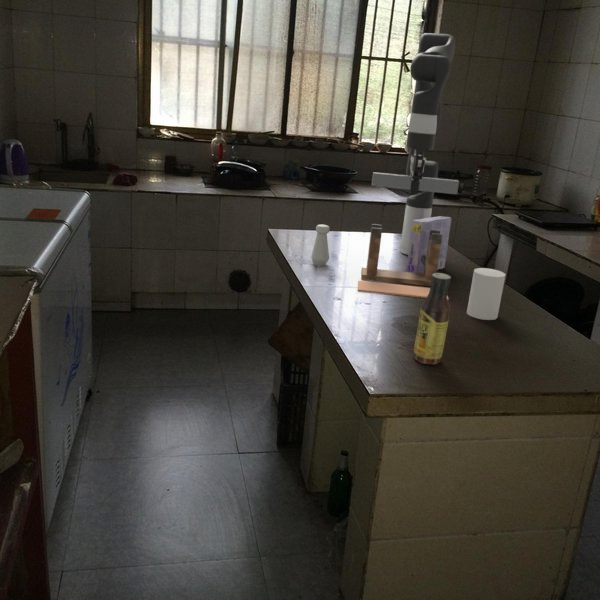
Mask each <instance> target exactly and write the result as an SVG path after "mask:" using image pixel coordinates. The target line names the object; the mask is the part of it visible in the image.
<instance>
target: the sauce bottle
mask: <svg viewBox="0 0 600 600" xmlns="http://www.w3.org/2000/svg"><path fill="white" fill-rule="evenodd" d="M451 280H452V277H451V275H449V274H446V273H443V272H437V273H434V274H432V277H431V286H429V288H430V291H429V294H428V296H427V298H425V299H424V301H423V304H422V305H421V307H420V311H419V312H420V313H419V317H418V322H417V323H418V324H417V330H416V337H415V340H414V341H415V343H414V346H413V352H414V353H413V358H414V360H416V361H417V362H419V363H420V364H422V365H423V364H424V365H430V366H431V365H432V366H433V365H438V364H439V363H440V362H441V358H442V356H443V352H444V347H445V343H446V336H447V331H448V325H449V320H450V319H449V318H450V317H449V316H450V312H451V305H450V302H449V300H447V296H448V294H449V293H448V292H449V286H450V284H451V282H452V281H451Z"/></svg>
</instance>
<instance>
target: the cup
mask: <svg viewBox="0 0 600 600" xmlns="http://www.w3.org/2000/svg"><path fill="white" fill-rule="evenodd" d="M471 279H472V281H471V285H470V292H469V297H468V303H467V308H466V309H467V310H466V314H467V315H468V316H469V317H472V318H475V319H478V320H483V321H486V320H487V321H492V320H493V321H495V320H496V319H498V315H499V311H500V305H501V300H502V295H503V291H504V284H505V280H506V273H504V272H503V271H500V270H498V269H495V268H494V269H493V268H488V267H487V268H486V267H478V268H474V270H473V274H472V278H471Z"/></svg>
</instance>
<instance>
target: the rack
mask: <svg viewBox="0 0 600 600" xmlns="http://www.w3.org/2000/svg"><path fill="white" fill-rule="evenodd" d="M382 233H383V228H382V224H377V223H371V227H370V237H369V244H368V246H369V247H368V253H367V254H368V255H367V260H366V262H367V263H366V267H361V271H360V273H361V274H360V278H361V280H363V281H365V280H366V281H373V282H383V283H393V284H395V283H396V284H403V285H404V284H405V285H413V284H414V285H413V286H423V285H425V286H426V287H431V277H432V274H434V273H438V270H437V267H438V261H439V254H440V248H441V241H442V234H440V230H430V234H429V241H428V248H427V255H426V262H425V268H424V274H421V273H411V272H406V271H400V270H390V269H381V268H378V267H379V266H378V265H379V258H380V252H381V251H380V250H381V241H382Z"/></svg>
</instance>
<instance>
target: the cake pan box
mask: <svg viewBox="0 0 600 600" xmlns="http://www.w3.org/2000/svg"><path fill="white" fill-rule="evenodd" d="M451 224H452V217H450V216H442V215H439V216H433V217H432V216H431V218H424V219H419V220H412V228H411V236H410V245H409V253H408V256H407V262H406V263H407V264H406V271H405V272H411V273H421V274H424V268H425V262H426V255H427V248H428V241H429V234H430V230H440V234H442V241H441V248H440V254H439V261H438V267H437V271H439V269H440V270H443V268H444V269H445V267H446V261H447V259H446V258H447V253H448V247H449V246H448V245H449V240H450V239H449V238H450V231H451Z"/></svg>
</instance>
